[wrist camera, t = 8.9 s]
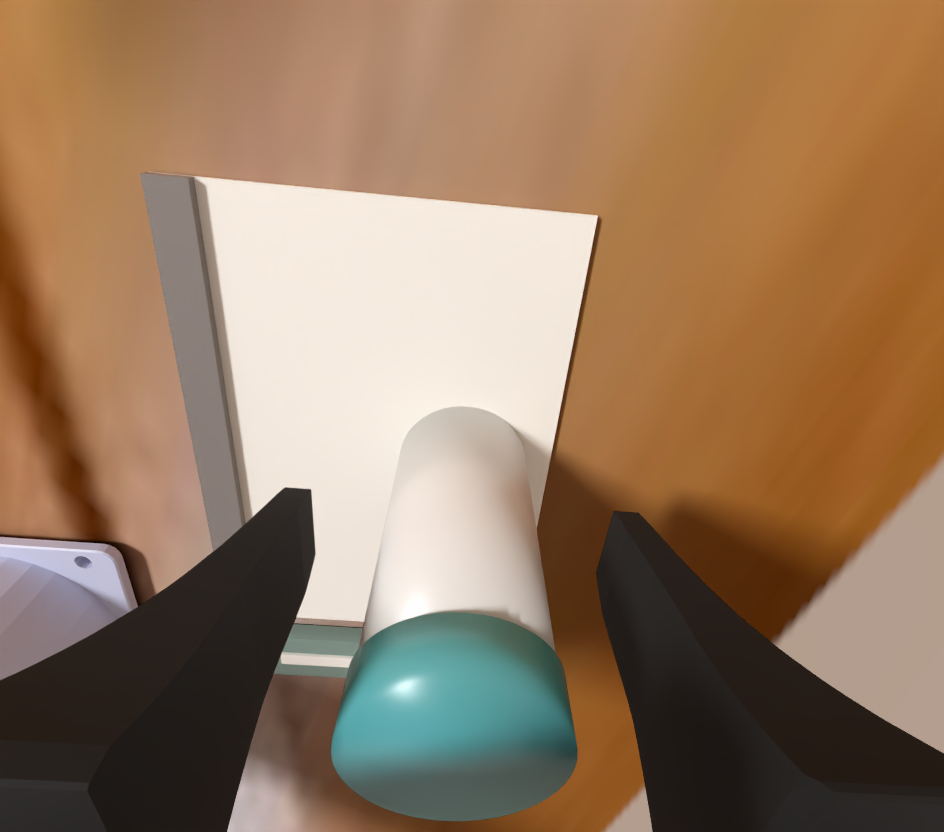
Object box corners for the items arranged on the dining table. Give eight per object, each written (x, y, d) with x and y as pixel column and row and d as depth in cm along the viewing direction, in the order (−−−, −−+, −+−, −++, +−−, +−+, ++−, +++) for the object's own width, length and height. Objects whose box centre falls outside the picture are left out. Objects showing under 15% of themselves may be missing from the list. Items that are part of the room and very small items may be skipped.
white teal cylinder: (393, 506, 16) (331, 814, 9) (399, 396, 14) (329, 673, 7) (517, 518, 16) (552, 827, 9) (539, 410, 15) (603, 693, 7)
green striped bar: (267, 658, 20) (260, 675, 19) (261, 621, 19) (255, 638, 18) (481, 671, 20) (481, 688, 20) (486, 635, 19) (487, 652, 19)
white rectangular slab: (231, 610, 19) (226, 619, 18) (149, 171, 12) (140, 173, 11) (516, 628, 19) (517, 637, 19) (597, 215, 12) (600, 218, 12)
